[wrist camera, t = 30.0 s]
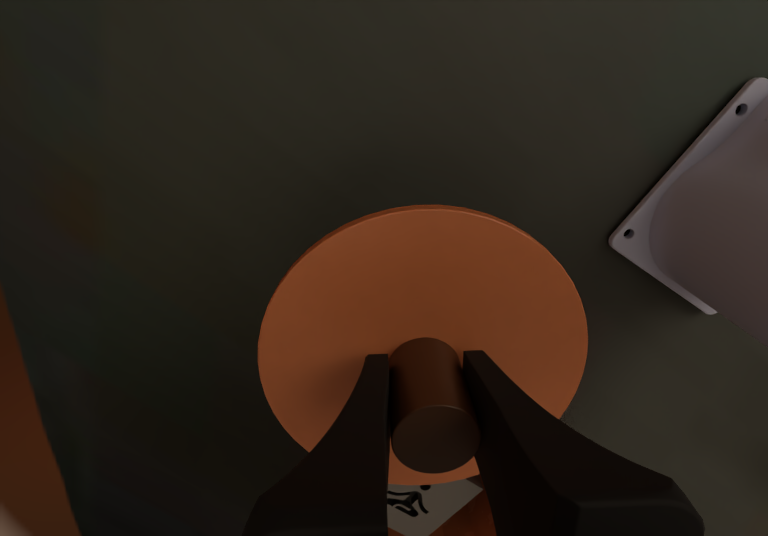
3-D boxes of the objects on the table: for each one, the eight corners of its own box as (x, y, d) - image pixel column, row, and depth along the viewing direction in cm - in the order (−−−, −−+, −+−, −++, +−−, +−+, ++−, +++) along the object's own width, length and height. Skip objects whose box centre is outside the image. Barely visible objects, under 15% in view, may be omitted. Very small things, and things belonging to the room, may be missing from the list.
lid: (375, 126, 13) (376, 153, 9) (640, 307, 15) (732, 389, 11) (211, 387, 16) (160, 489, 12) (450, 498, 19) (471, 611, 15)
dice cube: (348, 432, 28) (344, 504, 23) (400, 378, 26) (406, 444, 21) (412, 467, 29) (419, 543, 24) (464, 419, 27) (483, 489, 23)
